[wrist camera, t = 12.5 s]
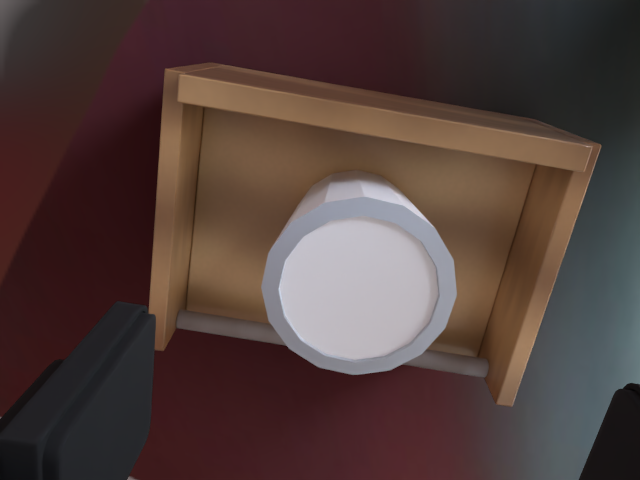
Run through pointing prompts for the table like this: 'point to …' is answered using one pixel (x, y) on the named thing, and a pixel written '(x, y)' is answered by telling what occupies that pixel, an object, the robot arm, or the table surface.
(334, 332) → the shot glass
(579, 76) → the table surface
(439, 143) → the spice rack
